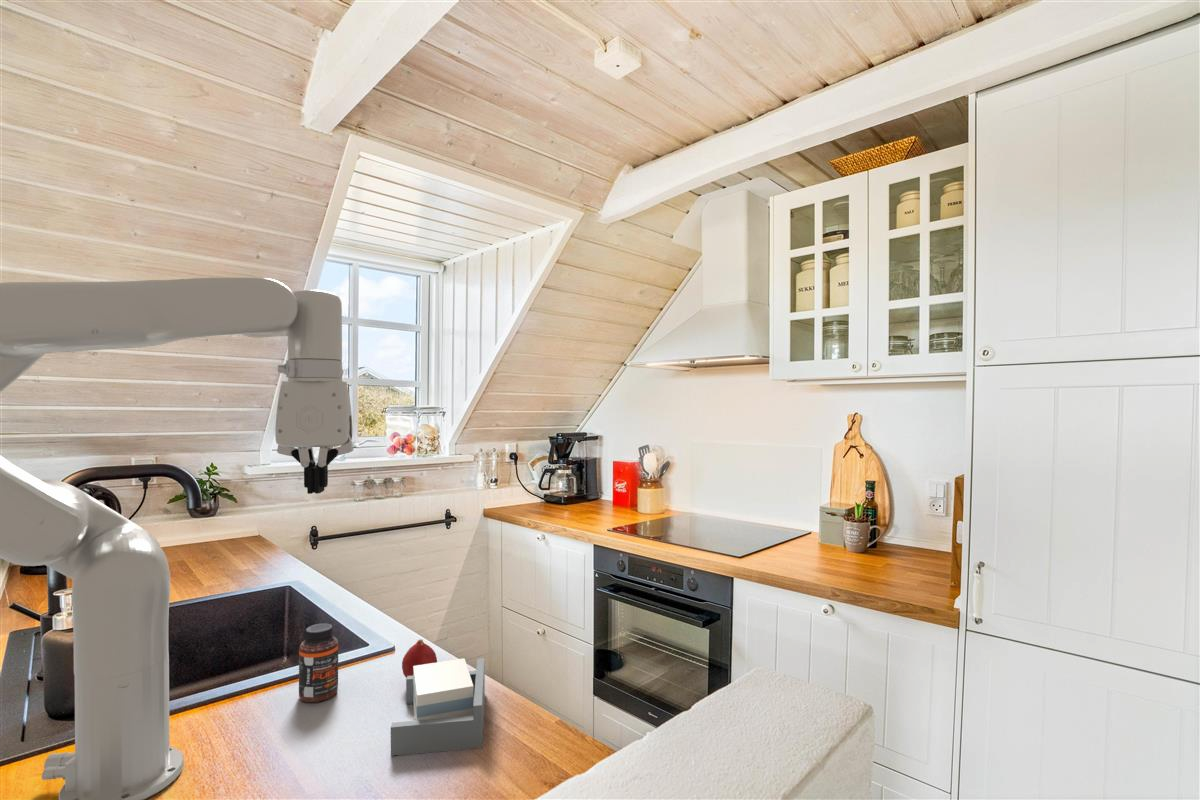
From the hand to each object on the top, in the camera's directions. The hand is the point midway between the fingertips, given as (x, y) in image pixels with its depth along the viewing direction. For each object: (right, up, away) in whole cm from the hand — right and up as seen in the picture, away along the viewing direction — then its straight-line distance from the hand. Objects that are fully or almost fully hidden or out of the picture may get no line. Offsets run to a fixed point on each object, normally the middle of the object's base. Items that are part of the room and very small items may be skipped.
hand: (316, 492), depth 92 cm
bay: (+19, -35, 0) cm, 40 cm away
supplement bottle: (-3, -35, +8) cm, 36 cm away
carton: (+19, -35, 0) cm, 40 cm away
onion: (+12, -35, +11) cm, 39 cm away
